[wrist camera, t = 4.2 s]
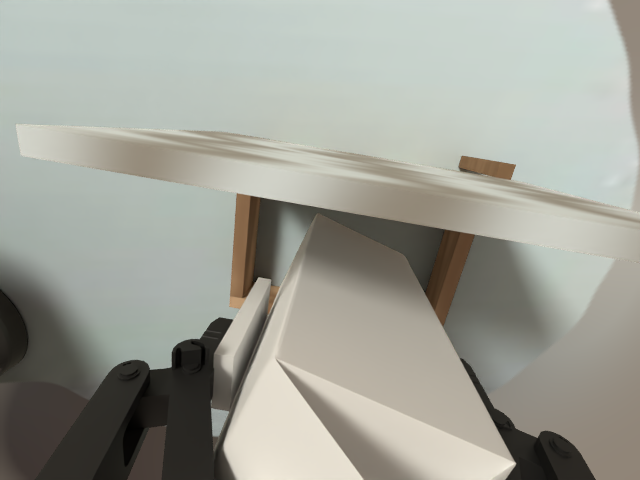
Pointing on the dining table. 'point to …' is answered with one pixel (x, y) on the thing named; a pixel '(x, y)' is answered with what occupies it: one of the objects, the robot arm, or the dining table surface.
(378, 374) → the milk carton
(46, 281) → the dining table surface
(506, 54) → the dining table surface
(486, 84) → the dining table surface
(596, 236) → the cold frame
